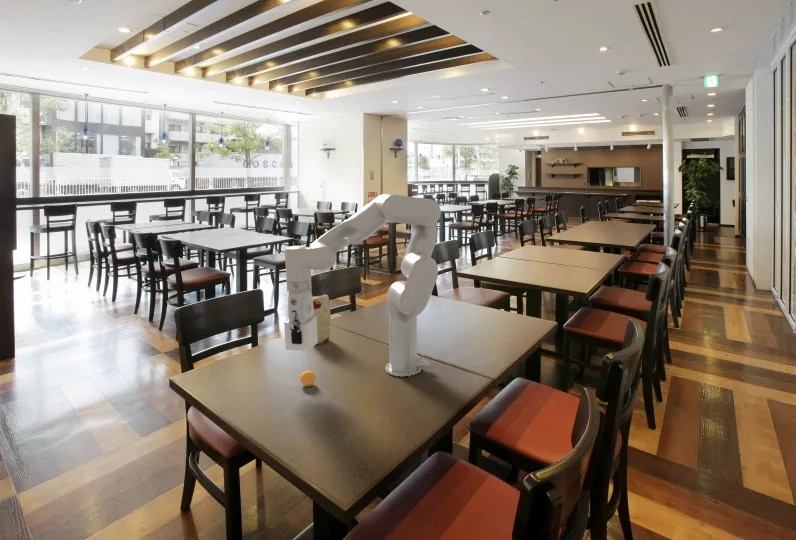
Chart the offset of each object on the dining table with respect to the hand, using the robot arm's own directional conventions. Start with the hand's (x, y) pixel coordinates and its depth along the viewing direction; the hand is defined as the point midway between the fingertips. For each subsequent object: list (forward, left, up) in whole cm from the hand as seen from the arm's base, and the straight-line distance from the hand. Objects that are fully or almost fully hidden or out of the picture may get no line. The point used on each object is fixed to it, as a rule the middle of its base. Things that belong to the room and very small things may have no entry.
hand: (302, 338), depth 146 cm
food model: (+8, -39, -16) cm, 43 cm away
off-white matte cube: (0, 0, -2) cm, 2 cm away
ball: (-1, 0, -13) cm, 13 cm away
